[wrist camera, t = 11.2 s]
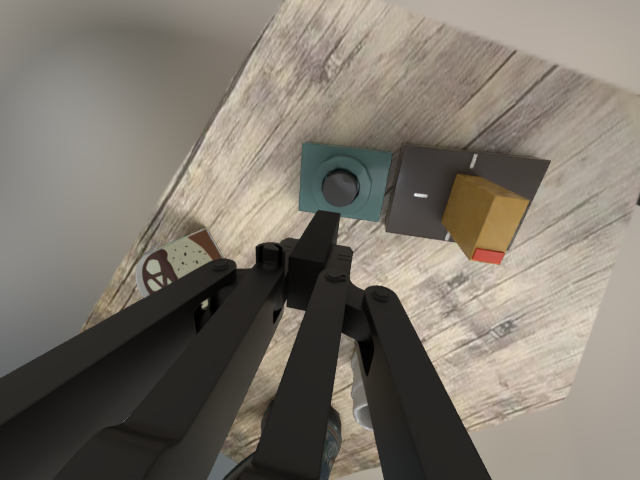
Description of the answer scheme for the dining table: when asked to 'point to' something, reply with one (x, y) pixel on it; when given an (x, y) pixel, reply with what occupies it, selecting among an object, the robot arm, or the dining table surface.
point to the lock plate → (451, 185)
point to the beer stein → (330, 447)
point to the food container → (175, 261)
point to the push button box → (359, 162)
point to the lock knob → (482, 217)
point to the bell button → (340, 188)
